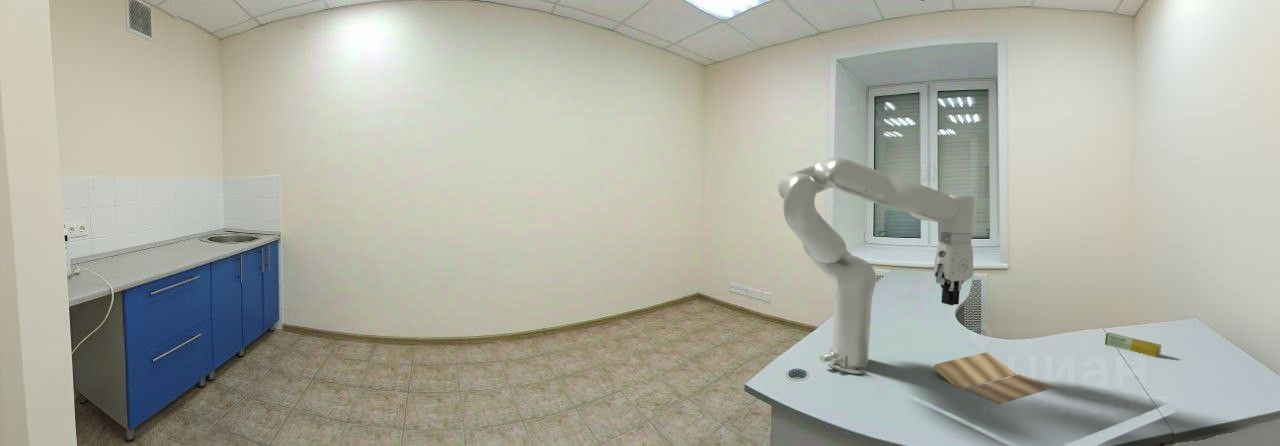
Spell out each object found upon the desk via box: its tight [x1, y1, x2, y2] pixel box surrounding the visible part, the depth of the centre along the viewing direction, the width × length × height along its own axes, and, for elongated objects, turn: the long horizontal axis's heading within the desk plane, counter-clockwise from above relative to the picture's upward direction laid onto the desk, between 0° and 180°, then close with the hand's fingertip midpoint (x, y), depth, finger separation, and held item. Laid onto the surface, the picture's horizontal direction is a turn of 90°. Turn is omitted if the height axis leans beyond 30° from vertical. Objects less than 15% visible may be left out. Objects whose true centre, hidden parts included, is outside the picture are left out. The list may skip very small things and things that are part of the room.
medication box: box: [1104, 332, 1163, 358], centre depth 142 cm, size 12×3×4 cm, turn 25°
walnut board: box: [963, 373, 1055, 405], centre depth 113 cm, size 23×8×2 cm, turn 113°
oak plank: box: [932, 351, 1016, 389], centre depth 120 cm, size 22×8×1 cm, turn 113°
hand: (949, 303), depth 126 cm, fingers closed
